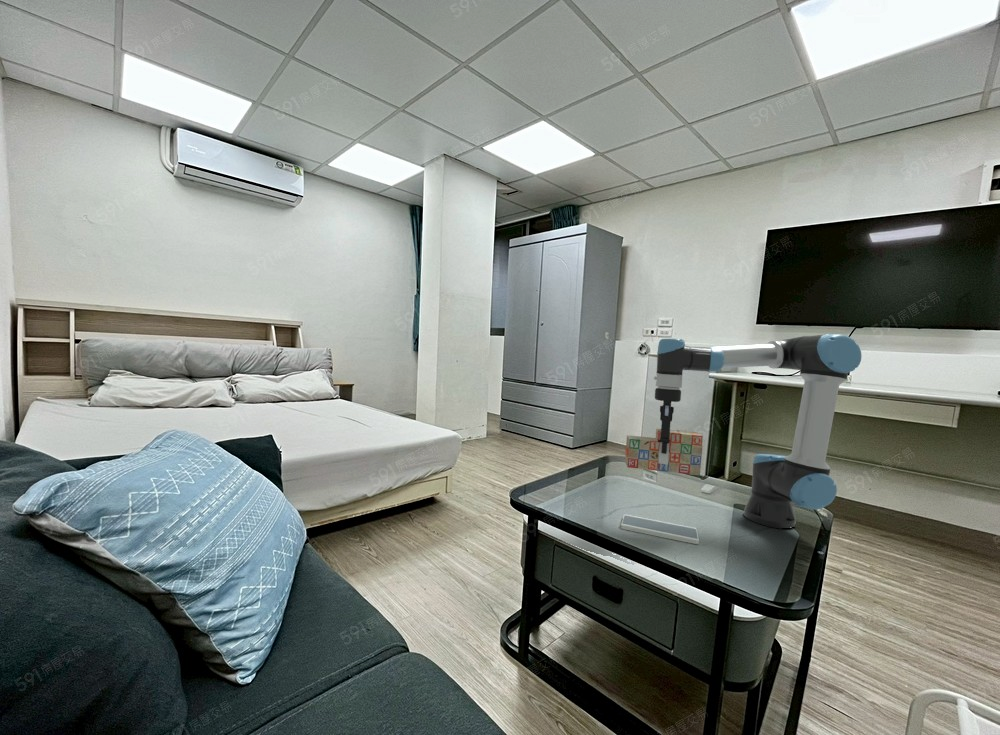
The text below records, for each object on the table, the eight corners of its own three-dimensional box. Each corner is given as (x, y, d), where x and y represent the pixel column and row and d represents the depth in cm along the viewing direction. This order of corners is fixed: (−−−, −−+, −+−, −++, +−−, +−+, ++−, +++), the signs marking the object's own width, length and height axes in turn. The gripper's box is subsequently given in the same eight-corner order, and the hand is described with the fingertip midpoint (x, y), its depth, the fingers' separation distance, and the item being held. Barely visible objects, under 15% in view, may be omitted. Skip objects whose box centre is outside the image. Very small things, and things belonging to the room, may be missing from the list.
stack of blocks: (627, 468, 126) (629, 428, 125) (624, 463, 132) (627, 425, 132) (700, 475, 122) (703, 435, 122) (694, 470, 128) (697, 431, 128)
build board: (696, 531, 128) (696, 527, 127) (698, 544, 118) (698, 540, 118) (624, 517, 136) (624, 513, 136) (620, 528, 127) (621, 524, 127)
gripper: (656, 385, 137) (651, 453, 137) (654, 388, 118) (649, 466, 119) (680, 387, 134) (675, 456, 134) (682, 390, 116) (676, 470, 116)
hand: (663, 460), depth 127 cm, fingers closed on stack of blocks, 7 cm apart
